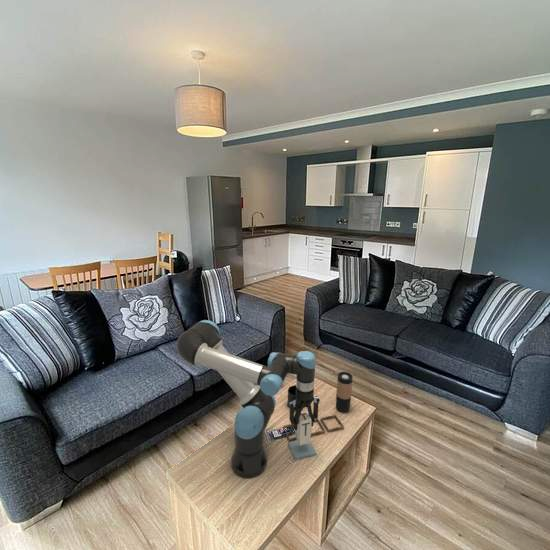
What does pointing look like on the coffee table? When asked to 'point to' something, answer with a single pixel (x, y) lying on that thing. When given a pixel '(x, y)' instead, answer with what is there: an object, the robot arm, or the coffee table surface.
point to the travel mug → (343, 392)
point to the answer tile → (301, 450)
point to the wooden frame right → (332, 428)
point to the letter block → (304, 429)
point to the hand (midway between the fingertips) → (303, 433)
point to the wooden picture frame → (287, 433)
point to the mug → (292, 395)
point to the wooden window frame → (318, 431)
